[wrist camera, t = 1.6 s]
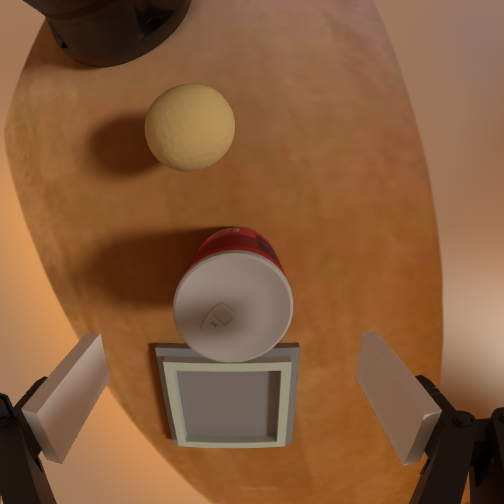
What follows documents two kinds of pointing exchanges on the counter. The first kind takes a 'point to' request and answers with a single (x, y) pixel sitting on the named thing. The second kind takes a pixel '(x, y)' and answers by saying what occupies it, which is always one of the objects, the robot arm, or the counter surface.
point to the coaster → (229, 397)
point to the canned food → (233, 297)
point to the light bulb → (189, 127)
